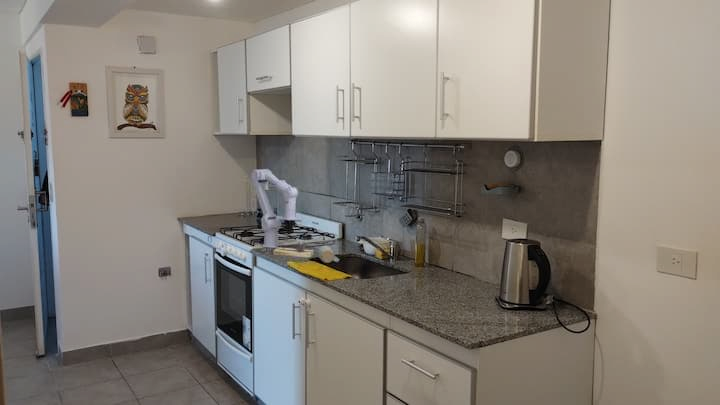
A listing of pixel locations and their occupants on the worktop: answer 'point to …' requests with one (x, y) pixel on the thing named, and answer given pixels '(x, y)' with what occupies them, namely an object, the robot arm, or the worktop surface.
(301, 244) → the fader knob
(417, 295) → the worktop surface
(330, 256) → the ceramic mug
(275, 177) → the robot arm
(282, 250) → the fader console
